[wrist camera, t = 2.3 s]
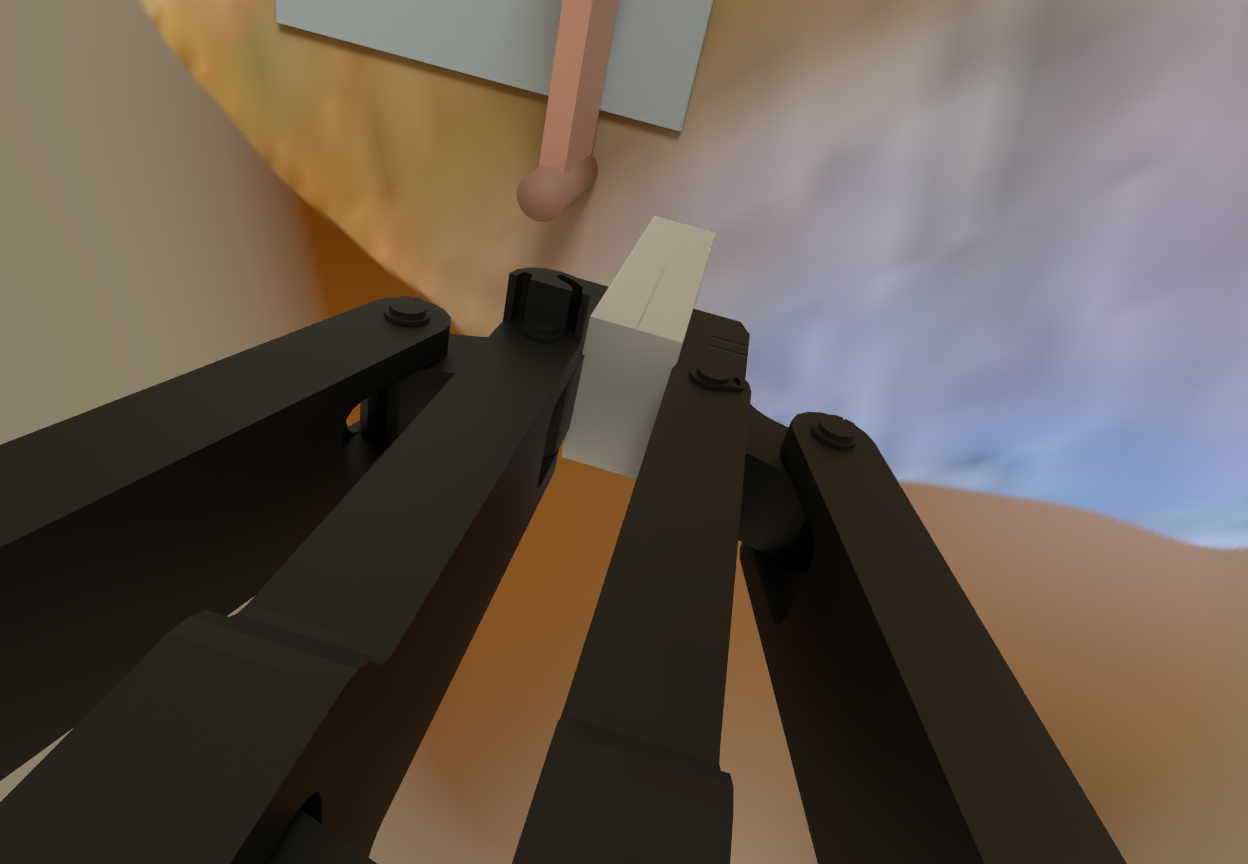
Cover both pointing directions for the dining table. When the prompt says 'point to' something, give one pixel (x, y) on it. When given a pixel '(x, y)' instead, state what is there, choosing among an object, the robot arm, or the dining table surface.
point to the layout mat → (528, 43)
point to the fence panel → (571, 109)
